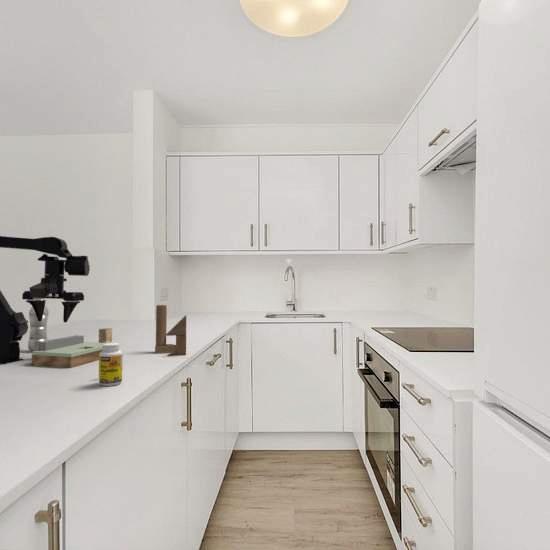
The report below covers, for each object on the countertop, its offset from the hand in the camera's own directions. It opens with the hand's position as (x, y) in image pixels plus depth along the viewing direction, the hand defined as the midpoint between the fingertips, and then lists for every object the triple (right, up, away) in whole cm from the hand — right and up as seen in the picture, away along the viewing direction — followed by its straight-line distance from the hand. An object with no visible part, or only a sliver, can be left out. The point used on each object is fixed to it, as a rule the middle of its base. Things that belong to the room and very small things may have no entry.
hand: (52, 321), depth 128 cm
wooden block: (+36, -13, +11) cm, 40 cm away
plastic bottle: (-15, -13, +16) cm, 25 cm away
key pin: (+12, -13, +14) cm, 22 cm away
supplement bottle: (+32, -13, -29) cm, 45 cm away
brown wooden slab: (+10, -13, -4) cm, 17 cm away
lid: (+10, -9, -4) cm, 14 cm away
